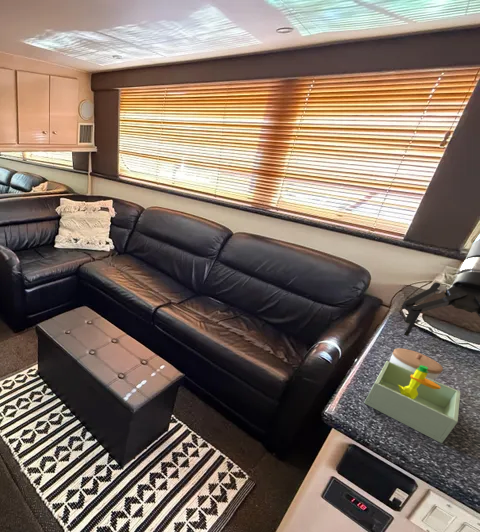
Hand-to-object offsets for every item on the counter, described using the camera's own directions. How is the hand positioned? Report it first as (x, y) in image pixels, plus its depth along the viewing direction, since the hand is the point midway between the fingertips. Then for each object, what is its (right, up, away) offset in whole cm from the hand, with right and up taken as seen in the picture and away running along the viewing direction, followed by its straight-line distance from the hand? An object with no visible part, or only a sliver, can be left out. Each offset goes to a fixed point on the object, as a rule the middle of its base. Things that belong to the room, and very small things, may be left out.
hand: (444, 347), depth 77 cm
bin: (0, -19, +9) cm, 21 cm away
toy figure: (0, -18, +9) cm, 20 cm away
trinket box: (+12, -15, +21) cm, 29 cm away
